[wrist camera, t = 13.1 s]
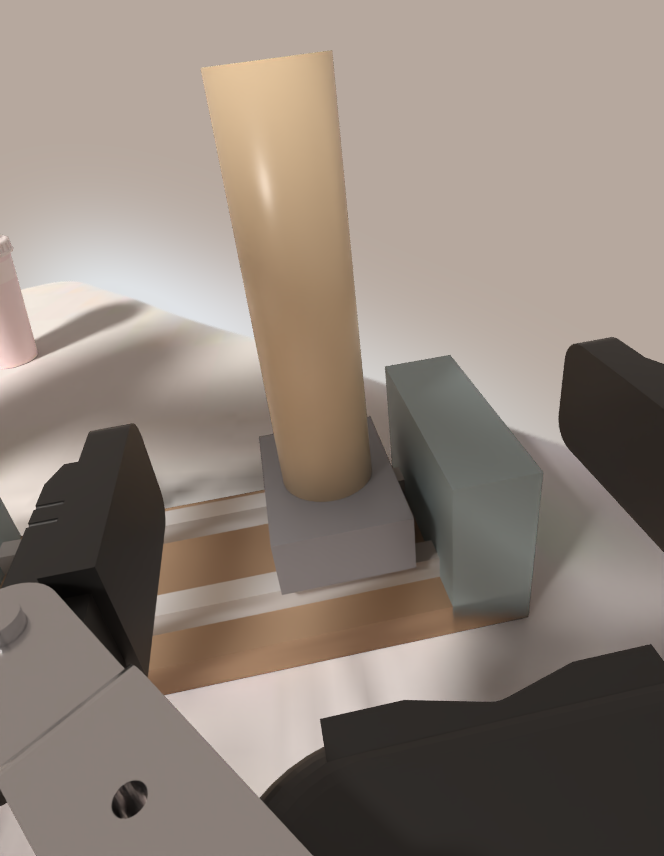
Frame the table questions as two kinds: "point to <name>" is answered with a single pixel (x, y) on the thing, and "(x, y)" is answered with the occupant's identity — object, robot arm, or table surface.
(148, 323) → the table surface
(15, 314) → the smoothie
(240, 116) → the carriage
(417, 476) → the pair of sage blocks
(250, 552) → the rail bed
